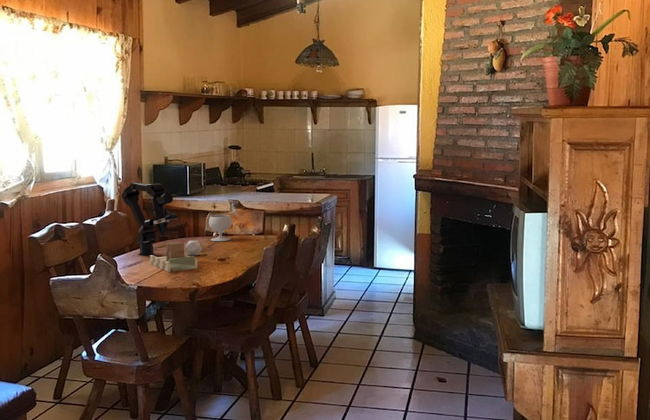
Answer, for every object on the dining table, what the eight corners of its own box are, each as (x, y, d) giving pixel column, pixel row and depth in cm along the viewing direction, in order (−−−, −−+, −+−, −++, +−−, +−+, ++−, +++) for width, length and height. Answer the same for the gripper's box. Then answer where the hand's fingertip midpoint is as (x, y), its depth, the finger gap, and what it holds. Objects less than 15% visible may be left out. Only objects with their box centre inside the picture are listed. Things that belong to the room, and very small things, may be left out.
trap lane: (150, 264, 341) (149, 252, 340) (178, 260, 350) (178, 249, 349) (167, 272, 322) (167, 259, 321) (197, 268, 331) (197, 256, 330)
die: (193, 258, 359) (203, 243, 361) (180, 250, 360) (190, 235, 362) (196, 260, 367) (206, 246, 369) (183, 252, 367) (193, 238, 370)
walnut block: (166, 260, 333) (165, 243, 332) (179, 259, 337) (179, 241, 336) (171, 262, 329) (170, 244, 327) (184, 261, 332) (183, 243, 331)
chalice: (221, 242, 402) (221, 218, 400) (204, 240, 410) (203, 216, 408) (236, 239, 414) (236, 215, 412) (219, 237, 421) (219, 213, 420)
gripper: (182, 202, 357) (187, 231, 356) (155, 210, 366) (161, 238, 365) (168, 203, 347) (173, 233, 347) (141, 210, 356) (146, 239, 355)
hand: (164, 235), depth 354 cm, fingers closed
